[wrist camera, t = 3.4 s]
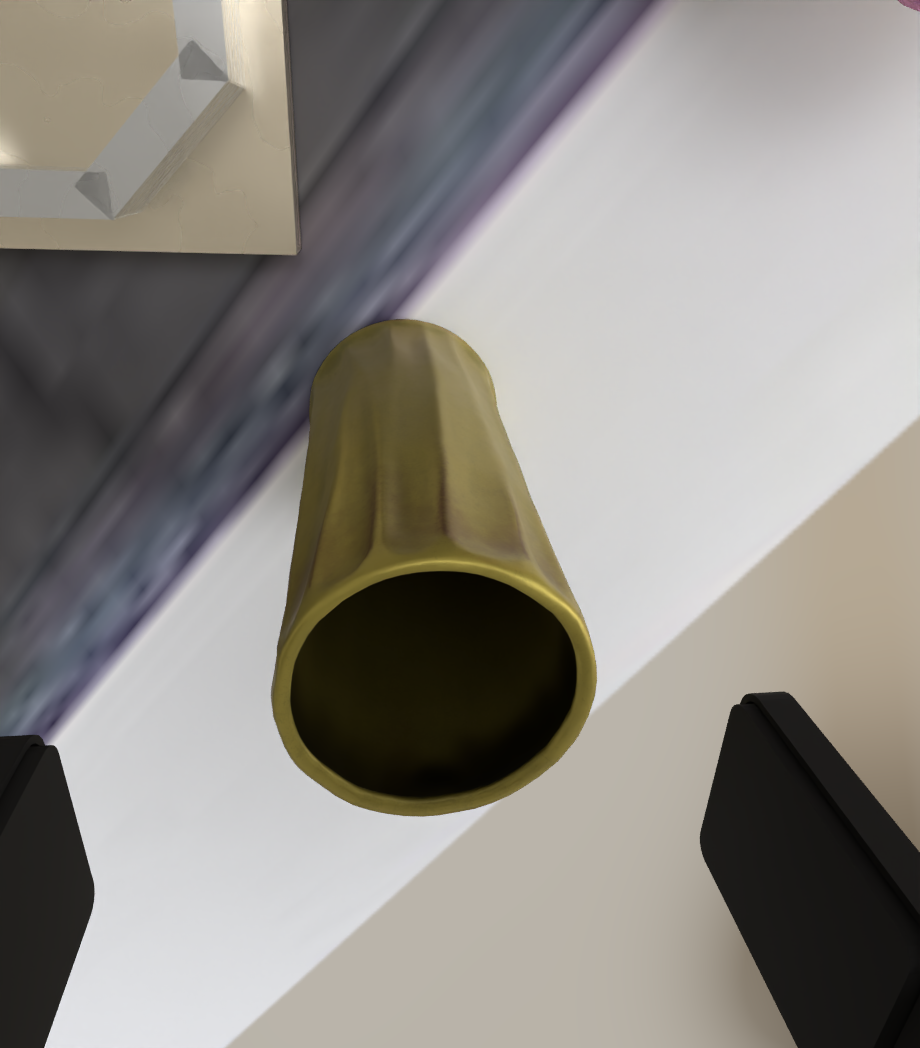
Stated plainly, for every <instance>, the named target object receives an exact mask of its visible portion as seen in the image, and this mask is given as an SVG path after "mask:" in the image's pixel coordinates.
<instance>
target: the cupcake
mask: <svg viewBox="0 0 920 1048" xmlns="http://www.w3.org/2000/svg"><path fill="white" fill-rule="evenodd" d="M898 1H899V2H900V3H902V4H903V5H904V6H907V7H909V8H912V9H914V10H917V11H919V12H920V0H898Z"/></svg>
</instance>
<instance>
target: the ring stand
mask: <svg viewBox="0 0 920 1048" xmlns="http://www.w3.org/2000/svg"><path fill="white" fill-rule="evenodd" d="M0 248H16V249H58V250H101V251H143V252H185V253H228V254H270V255H297V254H298V253H299V251H300V250H301V234H300V216H299V199H298V182H297V165H296V148H295V131H294V114H293V96H292V79H291V62H290V45H289V28H288V11H287V0H0Z"/></svg>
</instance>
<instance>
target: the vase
mask: <svg viewBox="0 0 920 1048" xmlns="http://www.w3.org/2000/svg"><path fill="white" fill-rule="evenodd" d="M309 418H310V432H309V444H308V450H307V457H306V464H305V472H304V480H303V487H302V494H301V500H300V507H299V515H298V522H297V529H296V535H295V542H294V550H293V556H292V562H291V568H290V574H289V583H288V592H287V600H286V607H285V612H284V616H283V621H282V626H281V631H280V636H279V640H278V645H277V657H276V664H275V670H274V676H273V682H272V688H271V702H272V709H273V717H274V720H275V722H276V725H277V728H278V731H279V734H280V737H281V739H282V742H283V744H284V747H285V749H286V750H287V752H288V754H289V756H290V758H291V759H292V760H293V762H294V763H295V764H296V765H297V767H298V768H299V769H301V770H302V771H303V772H304V773H305V774H306V775H307V776H309V777H310V778H311V779H313V780H314V781H315V782H317V783H318V784H320V785H321V786H322V787H324V788H325V789H327V790H328V791H329V792H331V793H332V794H334V795H335V796H337V797H339V798H341V799H343V800H345V801H346V802H348V803H350V804H352V805H355V806H358V807H362V808H365V809H368V810H372V811H377V812H381V813H386V814H393V815H401V816H435V815H443V814H449V813H454V812H460V811H465V810H470V809H475V808H478V807H481V806H484V805H487V804H490V803H493V802H495V801H498V800H500V799H502V798H504V797H507V796H509V795H511V794H512V793H514V792H516V791H518V790H519V789H521V788H523V787H524V786H526V785H527V784H529V783H530V782H531V781H533V780H534V779H536V778H538V777H539V776H540V775H541V774H543V773H544V772H545V771H546V770H548V769H549V768H550V767H551V766H553V765H554V764H555V763H556V762H558V760H559V759H560V758H561V757H562V756H563V755H564V753H565V752H566V751H567V750H568V748H569V747H570V746H571V745H572V744H573V743H574V741H575V740H576V738H577V737H578V736H579V734H580V731H581V730H582V728H583V726H584V724H585V722H586V720H587V718H588V715H589V712H590V709H591V706H592V703H593V700H594V697H595V690H596V683H597V670H596V661H595V655H594V650H593V646H592V643H591V639H590V635H589V632H588V629H587V626H586V623H585V620H584V617H583V615H582V613H581V610H580V608H579V606H578V604H577V602H576V600H575V598H574V596H573V593H572V591H571V589H570V587H569V585H568V583H567V580H566V578H565V576H564V574H563V571H562V569H561V567H560V564H559V562H558V560H557V558H556V555H555V553H554V551H553V549H552V546H551V544H550V542H549V539H548V537H547V534H546V532H545V529H544V527H543V525H542V522H541V520H540V517H539V515H538V513H537V510H536V508H535V506H534V504H533V501H532V499H531V497H530V494H529V491H528V489H527V486H526V483H525V480H524V477H523V474H522V471H521V469H520V466H519V463H518V461H517V458H516V456H515V454H514V452H513V449H512V447H511V444H510V442H509V439H508V436H507V433H506V431H505V428H504V426H503V423H502V421H501V418H500V415H499V412H498V409H497V404H496V395H495V389H494V386H493V382H492V379H491V376H490V374H489V371H488V369H487V367H486V366H485V364H484V362H483V361H482V360H481V358H480V357H479V356H478V354H477V353H476V352H475V351H474V350H473V349H472V348H471V347H470V346H469V345H468V344H467V343H466V342H465V341H464V340H462V339H461V338H460V337H458V336H457V335H455V334H454V333H452V332H450V331H448V330H446V329H444V328H442V327H440V326H437V325H435V324H431V323H427V322H423V321H418V320H409V319H396V320H388V321H383V322H379V323H375V324H372V325H369V326H367V327H365V328H362V329H360V330H358V331H356V332H354V333H353V334H351V335H349V336H348V337H347V338H345V339H344V340H343V341H341V342H340V343H339V344H338V345H337V346H336V347H335V348H334V349H333V350H332V351H331V352H330V353H329V355H328V356H327V357H326V359H325V360H324V362H323V363H322V365H321V367H320V368H319V370H318V372H317V374H316V376H315V378H314V381H313V384H312V387H311V395H310V408H309Z"/></svg>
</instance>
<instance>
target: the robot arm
mask: <svg viewBox="0 0 920 1048" xmlns="http://www.w3.org/2000/svg"><path fill="white" fill-rule="evenodd" d="M700 845H701V851H702V854H703V857H704V860H705V862H706V864H707V866H708V868H709V870H710V872H711V874H712V876H713V878H714V880H715V882H716V884H717V886H718V888H719V890H720V892H721V894H722V896H723V898H724V900H725V902H726V904H727V906H728V908H729V910H730V912H731V914H732V916H733V918H734V920H735V922H736V924H737V926H738V929H739V931H740V932H741V935H742V937H743V939H744V941H745V943H746V945H747V947H748V948H749V951H750V953H751V954H752V957H753V959H754V960H755V963H756V965H757V967H758V969H759V970H760V973H761V975H762V977H763V979H764V981H765V983H766V985H767V987H768V989H769V991H770V993H771V995H772V997H773V999H774V1001H775V1003H776V1005H777V1007H778V1009H779V1011H780V1013H781V1015H782V1017H783V1019H784V1021H785V1023H786V1025H787V1027H788V1029H789V1031H790V1033H791V1035H792V1037H793V1039H794V1041H795V1043H796V1045H797V1047H798V1048H920V852H919V851H918V850H917V848H916V847H915V846H914V845H913V844H912V843H911V841H910V840H909V839H908V837H907V836H906V835H905V834H904V833H903V831H902V830H901V829H900V828H899V826H898V825H897V824H896V823H895V821H894V820H893V819H892V818H891V817H890V815H889V814H888V813H887V812H886V810H884V808H883V807H882V806H881V804H880V803H879V802H878V801H877V799H876V798H875V797H874V796H873V795H872V793H871V792H870V791H869V790H868V788H867V787H866V786H865V785H864V783H863V782H862V781H861V780H860V778H859V777H858V776H857V775H856V774H855V772H854V771H853V770H852V769H851V767H850V766H849V765H848V764H847V763H846V761H845V760H844V759H843V758H842V756H841V755H840V754H839V753H838V751H837V750H836V749H835V748H834V747H833V745H832V744H831V743H830V742H829V740H828V739H827V738H826V737H825V736H824V734H823V733H822V732H821V731H820V730H819V728H818V727H817V726H816V724H815V723H814V722H813V721H812V720H811V718H810V717H809V716H808V715H807V713H806V712H805V711H804V710H803V709H802V707H801V706H800V705H799V704H798V702H797V701H796V700H795V699H794V698H793V697H792V696H791V695H790V694H789V693H786V692H769V693H751V694H746V695H745V696H744V697H743V698H742V700H741V703H740V704H737V705H734V706H733V707H732V709H731V712H730V716H729V719H728V723H727V727H726V732H725V735H724V740H723V743H722V748H721V752H720V756H719V760H718V764H717V768H716V772H715V776H714V780H713V784H712V788H711V792H710V796H709V800H708V804H707V808H706V812H705V817H704V820H703V824H702V828H701V832H700ZM93 903H94V882H93V878H92V875H91V871H90V867H89V863H88V860H87V856H86V852H85V849H84V845H83V841H82V838H81V834H80V830H79V826H78V823H77V819H76V815H75V812H74V808H73V804H72V800H71V797H70V793H69V789H68V786H67V782H66V778H65V775H64V771H63V767H62V763H61V760H60V756H59V753H58V750H57V748H56V747H55V746H54V745H46V746H45V744H44V742H43V739H42V738H41V737H40V736H39V735H22V736H4V737H0V1048H44V1046H45V1044H46V1041H47V1038H48V1035H49V1032H50V1029H51V1027H52V1024H53V1021H54V1018H55V1015H56V1012H57V1010H58V1007H59V1004H60V1001H61V998H62V995H63V992H64V990H65V987H66V984H67V981H68V978H69V975H70V973H71V970H72V967H73V964H74V961H75V958H76V956H77V953H78V950H79V947H80V944H81V941H82V938H83V936H84V933H85V930H86V927H87V924H88V921H89V919H90V916H91V912H92V909H93Z"/></svg>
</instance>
